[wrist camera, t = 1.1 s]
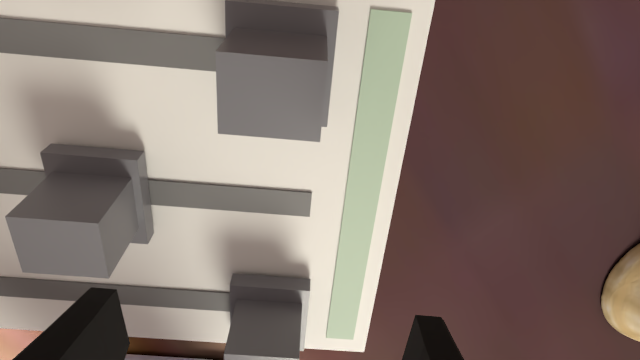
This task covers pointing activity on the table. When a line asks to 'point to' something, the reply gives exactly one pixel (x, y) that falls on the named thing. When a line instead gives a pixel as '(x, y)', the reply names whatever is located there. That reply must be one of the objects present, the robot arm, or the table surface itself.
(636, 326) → the hand bell
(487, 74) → the table surface
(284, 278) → the knob
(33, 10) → the switch board
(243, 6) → the knob
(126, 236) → the knob
